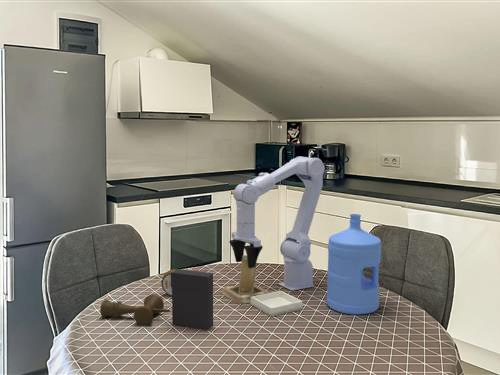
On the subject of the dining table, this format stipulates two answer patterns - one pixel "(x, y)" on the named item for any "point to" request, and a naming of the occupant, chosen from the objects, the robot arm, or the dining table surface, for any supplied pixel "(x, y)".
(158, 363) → the dining table surface
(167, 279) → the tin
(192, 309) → the black upright block
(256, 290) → the wooden square frame
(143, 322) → the kendama
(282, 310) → the tray
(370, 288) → the water jug
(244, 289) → the skincare box
